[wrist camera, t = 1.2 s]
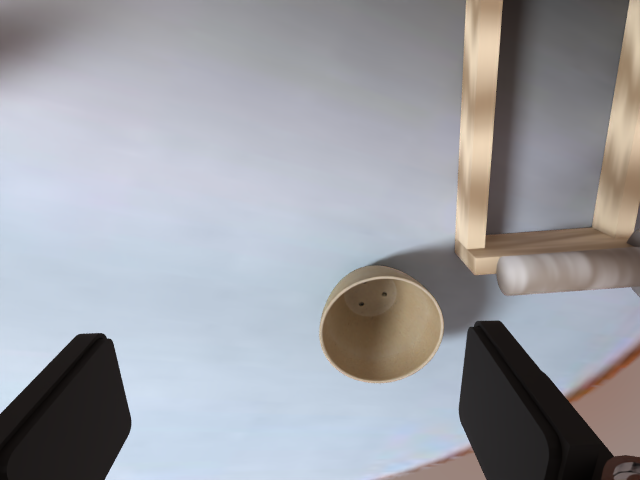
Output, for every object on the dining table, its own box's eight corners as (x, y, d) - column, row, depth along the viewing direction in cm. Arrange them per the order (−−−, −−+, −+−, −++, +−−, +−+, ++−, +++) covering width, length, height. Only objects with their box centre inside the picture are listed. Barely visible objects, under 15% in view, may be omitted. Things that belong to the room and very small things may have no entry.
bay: (469, -78, 29) (544, -159, 20) (693, -96, 29) (876, -186, 20) (453, 274, 39) (498, 333, 29) (621, 262, 38) (721, 317, 29)
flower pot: (302, 316, 40) (300, 361, 33) (344, 227, 37) (351, 257, 30) (392, 349, 41) (408, 399, 35) (440, 266, 38) (467, 303, 32)
